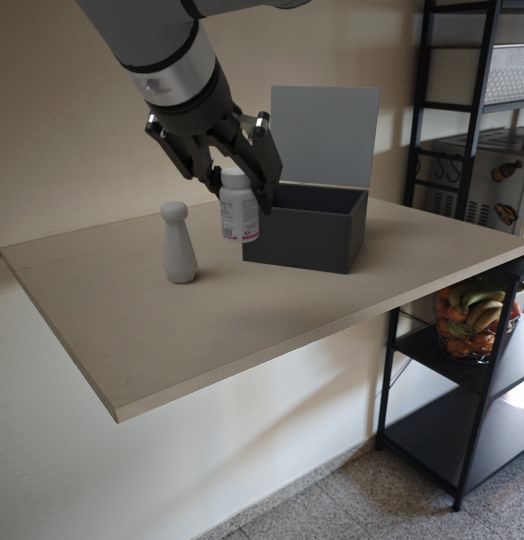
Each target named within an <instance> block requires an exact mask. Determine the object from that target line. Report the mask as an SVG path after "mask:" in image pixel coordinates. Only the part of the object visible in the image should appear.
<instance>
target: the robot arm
mask: <svg viewBox="0 0 524 540" xmlns="http://www.w3.org/2000/svg"><path fill="white" fill-rule="evenodd" d="M74 2H75V3H76V4H77V5H78V7H79V8H80V9H81V11H82V12H83V14H84V15H85V16H86V18H87V19H88V20H89V21H90V23H91V24H92V26H93V27H94V29H95V30H96V32H98V34H99V36H100V37H101V38H102V40H103V41H104V43H105V44H106V45H107V47H108V48H109V50H110V52H112V55H113V57H114V58H115V59H116V60H117V62H118V64H119V65H120V67H121V68H122V71H124V73H125V74H126V75H127V77H128V78H129V80H130V81H131V82H132V84H133V86H134V87H135V88H136V91H138V93H139V94H140V96H141V97H142V98H143V100H144V102H145V104H146V105H147V106H148V108H149V109H150V110H149V113H148V117H147V120H146V124H145V127H144V133H146V134H147V135H148V136H149V137H150V138H152V139H153V140H154V141H155V142H157V143H158V145H159V146H160V147H161V149H162V150H163V152H164V153H165V155H166V156H167V157H168V158H169V160H170V161H171V162H172V164H173V166H175V168H176V169H177V171H178V172H179V173H180V175H181V176H182V178H183V179H185V180H186V181H192V180H193V179H194V178H195V179H197V181H198V182H199V183H201V184H203V185H204V186H205V187H206V189H207V191H208V192H209V193H211V194H212V195H213V194H214V195H215V197H216V198H217V200H218V201H219V202H220V196H219V191H220V188H221V187H222V186H223V184H222V181H221V171H222V170H223V169H222V167H221V165H214V162H215V158H212V153H211V149H210V147H214V148H215V149H216V150H218V152H219V153H220V154H221V155H222V156H223V157H224V158H230V159H231V161H232V162H233V163H234V164H235V165H236V167H239V168H240V169H241V170H242V171H243V172H244V173H245V174H246V176H247V177H248V178H249V179H250V180H251V181H252V182H253V183H252V187H251V190H252V192H253V194H254V196H255V198H256V199H257V201H258V203H259V205H260V207H261V209H262V211H263V213H264V215H270V213H271V209H272V205H273V201H274V197H275V196H274V194H273V193H274V188H275V186H278V185H279V183H280V181H281V180H280V177H281V172H282V168H283V164H282V161H281V158H280V156H279V153H278V150H277V148H276V145H275V142H274V140H273V137H272V135H271V132H270V127H269V126H270V112H268V111H266V110H265V111H264V110H260V111H259V112H258V113H257V117H256V116H252V115H249V114H246V113H245V114H244V113H243V109H242V108H241V107H240V106H239V105H238V104H236V102H235V101H234V100H233V97H232V92H231V88H230V85H229V82H228V79H227V77H226V74H225V73H224V70H223V67H222V65H221V63H220V61H219V59H218V56H217V55H216V52H215V48H214V47H213V44H212V41H211V40H210V37H209V35H208V32H207V31H206V29H205V26H204V23H203V21H202V20H203V19H207V17H213V16H217V15H222V14H227V13H231V12H236V11H240V10H245V9H250V8H255V7H259V6H266V7H273V8H275V9H279V10H284V11H285V10H287V11H288V10H289V11H291V10H294V9H296V8H299V7H302V6H305V5H307V4H309V3H311V2H313V0H74ZM243 130H244V131H245V134H246V135H247V137H246V136H245V134H244V133H243ZM213 165H214V166H213Z"/></svg>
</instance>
